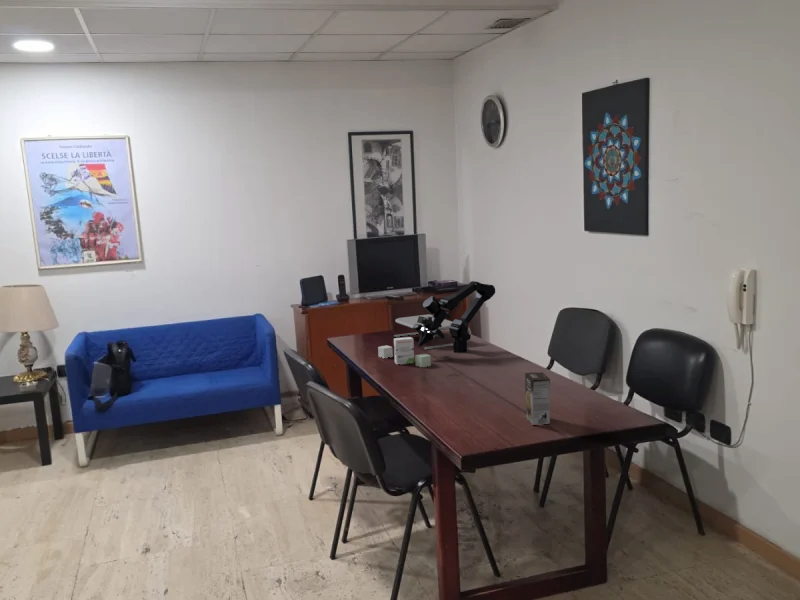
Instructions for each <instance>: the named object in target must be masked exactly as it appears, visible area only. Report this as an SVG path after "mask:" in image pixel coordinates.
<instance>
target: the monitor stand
mask: <svg viewBox="0 0 800 600" xmlns="http://www.w3.org/2000/svg"><path fill="white" fill-rule="evenodd" d="M419 316H422V317H426V318H427V316H429V317H432V316H433V314H430V313H428V314H422V315H421V314H420V315H413V316H405V317H397V318H395V323H397V324H399V325H402V326H405V327H408V328H411V329H413V330H415V329H414V328H413V326H414V325H415V324H420V325H422V326H423V324H421V323H418V322H417V320H418V317H419ZM452 323H453V321H451V320H448V319H447V318H445V319H444V321H443V322H442V324H441V325H442V327H439V328H438V329H440V330H441V331H445V330H449V328H450V324H452ZM423 327H424V326H423ZM424 328H425V327H424ZM467 332H468V333H469V334H470V335H471V336H472V331H471V328H470V327H469V326H468V331H467ZM416 334H418V335H420V334H419V333H418V332H417V331H416V332H409V333H402V334H394V335H392V336H393V337H396V338H401V337H400V336H403V337H409V336H408V335H410V336H416ZM469 341H470V340H468V342H469ZM447 346H449V347H453V342H452V343H447V344H438V345H433V346H426V347H423V348H422V350H423V351H428V350H434V349H433V348H435V349H441V348H440V347H442V348H448V347H447ZM427 349H428V350H427Z"/></svg>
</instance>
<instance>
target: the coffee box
mask: <svg viewBox="0 0 800 600" xmlns="http://www.w3.org/2000/svg"><path fill="white" fill-rule="evenodd" d="M524 376H525V378H524V380H525V381H524V382H525V383H524V384H525V385H524V386H525V418H526V417H527V418H526V419H527V421H528V420H529V421H530V422H531V423H532V424H533V425H534V424H548V423H550V424H551V378H549V377H548V376H547V375H546V374H545V373H544V372H543V371H541V372H525V373H524ZM529 421H528V422H529ZM530 422H529V423H530ZM531 423H530V424H531ZM532 424H531V425H532Z"/></svg>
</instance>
